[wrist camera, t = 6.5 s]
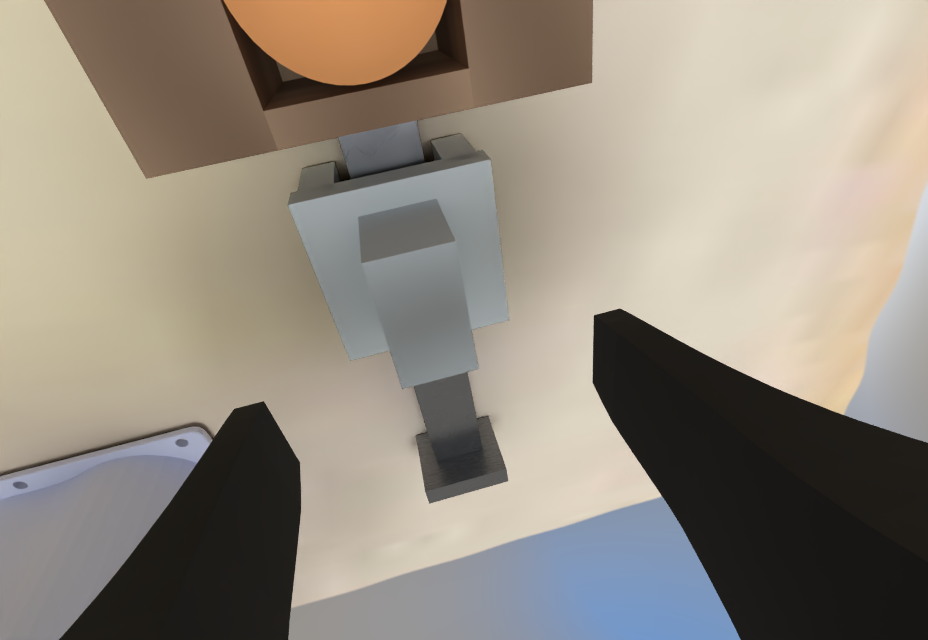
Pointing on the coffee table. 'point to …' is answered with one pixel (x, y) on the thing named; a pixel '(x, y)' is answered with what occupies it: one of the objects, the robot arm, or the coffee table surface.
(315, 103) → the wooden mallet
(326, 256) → the carriage
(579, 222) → the coffee table surface
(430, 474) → the rail
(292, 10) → the orange-brown rounded block
